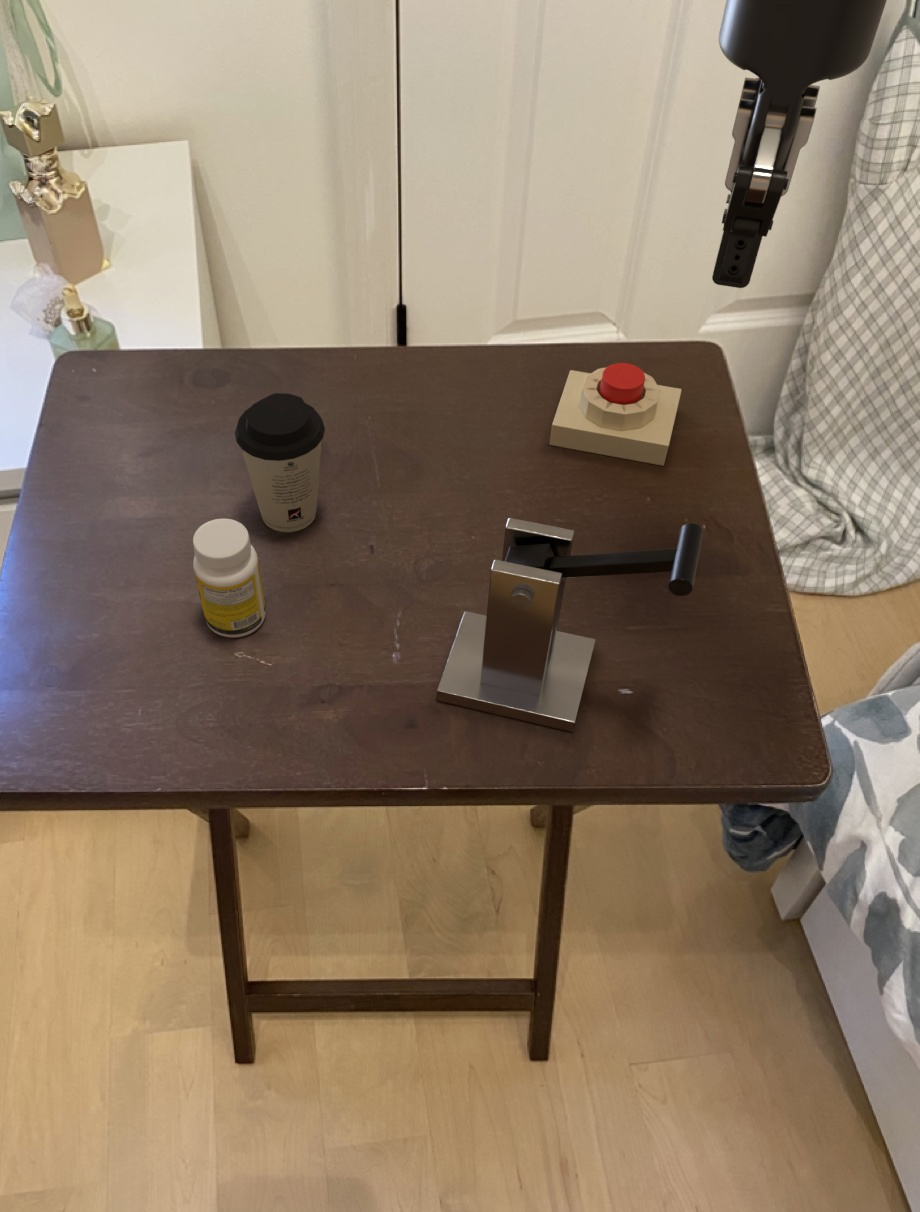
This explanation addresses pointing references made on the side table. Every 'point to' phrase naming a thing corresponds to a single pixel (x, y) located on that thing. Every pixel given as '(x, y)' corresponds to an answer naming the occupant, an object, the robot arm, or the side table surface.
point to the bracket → (520, 641)
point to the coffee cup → (283, 459)
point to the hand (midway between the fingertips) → (730, 279)
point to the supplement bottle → (228, 578)
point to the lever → (622, 561)
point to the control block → (615, 420)
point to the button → (622, 384)
